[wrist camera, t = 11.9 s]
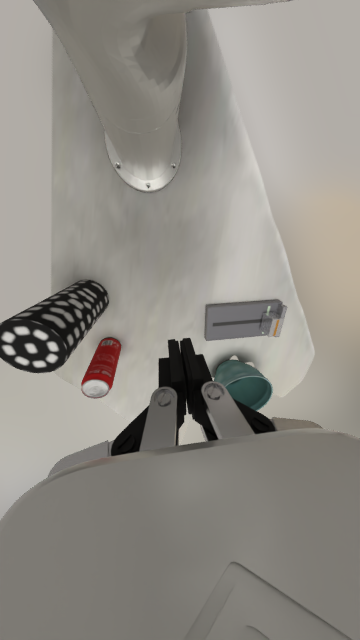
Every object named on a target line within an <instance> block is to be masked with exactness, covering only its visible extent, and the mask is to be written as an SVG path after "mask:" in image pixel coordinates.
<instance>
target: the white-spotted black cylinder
mask: <svg viewBox="0 0 360 640" xmlns="http://www.w3.org/2000/svg"><path fill="white" fill-rule="evenodd" d="M108 304H109V296H108V293H107V291H106V290H105V289H104V287H102V286H101V285H100V284H98V283H97V282H94V281H91V280H82V281H79V282H77V283H75V284H73V285H71V286H69V287H68V288H66V289H64V290H62V291H60V292H58V293H56V294H54V295H53V296H51V297H49V298H47V299H45V300H43V301H41V302H40V303H38V304H36V305H34V306H32V307H30V308H28V309H26V310H24V311H23V312H21V313H19V314H17V315H15V316H13V317H11V318H9V319H7V320H5V321H4V322H2V323H0V358H2V359H3V360H4V361H5V362H7V363H8V364H10V365H11V366H13V367H15V368H17V369H20V370H23V371H27V372H32V373H46V372H52V371H55V370H57V369H58V368H60V367H61V366H62V365H63V364H64V363H65V362H66V361H67V359H68V358H69V357H70V355H71V354H72V353H73V351H74V350H75V349H76V347H77V346H78V345H79V344H80V342H81V341H82V340H83V338H84V337H85V336H86V334H87V333H88V332H89V330H90V329H91V328H92V326H93V325H94V324H95V322H96V321H97V320H98V319H99V317H100V316H101V315H102V313H103V312H104V311H105V309H106V308H107V306H108Z"/></svg>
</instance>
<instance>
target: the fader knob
mask: <svg viewBox="0 0 360 640" xmlns="http://www.w3.org/2000/svg"><path fill="white" fill-rule="evenodd" d="M283 321H284V318H283V317H281V316H280V315H278V314H276V313H275V312H267V313H263V317H262V321H261V326H260V330H261V331H262V332H264V333H265V334H266V335H267V336H268V337H272V336H279V335H280V332H281V328H282V325H283Z"/></svg>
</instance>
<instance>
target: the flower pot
mask: <svg viewBox="0 0 360 640" xmlns="http://www.w3.org/2000/svg"><path fill="white" fill-rule="evenodd" d="M214 381H215V382H219V383H221V384H222V385H223V386H224V387H225V388H226V389H227V391H228V393H229V394H230V396H231V397H232V398H233V399H235V400H237V401H239V402H241V403H242V404H244V405H246V406H248V407H250V408H252V409H253V410H255V411H258V410H259V409H261V408H262V407H264V405H266V404H267V402H268V401H269V400H270V398H271V396H272V393H273V387H272V384H271V383H270V382H269V380H268V379H266V378H265V377H264V376H263V375H262V374H261V373H260V372H259V371H258V370H257V369H255V368H254V367H252V366H250V365H248V364H245V363H242V362H240V361H238V360H228V361H225V362H223V363H222V364H220V365H219V366H218V368H217V370H216V375H215V378H214Z"/></svg>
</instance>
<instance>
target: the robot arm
mask: <svg viewBox="0 0 360 640" xmlns="http://www.w3.org/2000/svg"><path fill="white" fill-rule="evenodd" d="M33 1H34V2H35V4H36V5H37V6H38V8H39V9H40V10H41V12H42V13H43V15H44V16H45V17H46V19H47V20H48V22H49V23H50V25H51V26H52V28H53V30H54V31H55V33H56V34H57V36H58V38H59V39H60V41H61V43H62V45H63V47H64V48H65V50H66V52H67V54H68V56H69V58H70V60H71V62H72V64H73V65H74V67H75V69H76V71H77V73H78V75H79V77H80V79H81V81H82V83H83V85H84V87H85V90H86V92H87V94H88V96H89V98H90V100H91V102H92V104H93V106H94V108H95V110H96V112H97V114H98V116H99V118H100V120H101V122H102V124H103V126H104V137H105V145H106V149H107V153H108V156H109V158H110V161H111V163H112V165H113V167H114V169H115V170H116V172H117V173H118V175H119V176H120V177H121V178H122V179H123V181H124V182H125V183H127V184H128V185H129V186H130V187H132V188H134V189H136V190H138V191H142V192H150V193H151V192H156V191H159V190H161V189H163V188H164V187H166V186H167V185H168V184H169V183H170V182H171V181H172V179H173V178H174V176H175V174H176V172H177V170H178V167H179V163H180V159H181V152H182V139H181V133H180V128H179V125H178V122H177V120H178V114H179V107H180V101H181V95H182V88H183V82H184V74H185V67H186V57H187V25H186V13H188V12H191V11H192V10H196V9H210V8H224V7H238V6H251V5H265V4H268V3H278V2H287V1H291V0H33ZM118 166H120V169H118ZM172 166H174V167H175V169H172ZM147 186H150V188H149V189H148V188H147ZM168 348H169V358H160V359H159V388H158V389H157V390H155V391H154V392H153V394H152V396H151V400H150V405H149V406H148V407H147V408H146V409H145V410H144V411H143V412H142V413H141V414H140V415H139V416H138V417H137V418H135V419H134V420H133V421H132V422H131V423H130V424H129V425H128V426H127V427H126V428H125V429H124V430H123V431H122V432H121V433H120V434H119V435H118V436H117V438H116V439H115V440H113V441H111V442H108V441H105V442H102V443H100V444H97V445H94V446H92V447H89V448H87V449H84V450H81V451H79V452H76V453H74V454H71V455H68V456H66V457H64V458H62V459H61V460H60V461H59V462H57V463H56V464H55V466H54V467H53V468H52V470H51V471H50V473H49V475H48V478H46V479H44V480H43V481H41V482H39V483H38V484H37V485H35V486H34V487H32V488H31V489H30V490H28V491H27V492H26V493H24V494H23V495H22V496H21V497H20V498H19V499H18V500H17V501H16V502H15V503H14V504H13V505H12V506H11V508H10V509H9V510H8V511H7V512H6V514H5V515H4V516H3V518H2V519H1V520H0V640H360V438H358V437H355V436H352V435H349V434H346V433H342V432H338V431H334V430H328V429H323V428H322V427H321V426H319V425H318V424H316V423H314V422H311V421H306V420H295V419H286V418H276V417H273V418H272V419H268V418H267V417H266V416H264V415H263V414H261V413H259V412H257V411H255V410H253V409H252V408H250V407H248V406H246V405H244V404H242V403H241V402H239V401H237V400H235V399H233V398H232V397H231V396H230V394H229V393H228V391H227V389H226V388H225V387H224V386H223V385H222V384H221V383H219V382H215V381H213V380H212V377H211V375H210V372H209V369H208V367H207V364H206V361H205V359H204V356H203V354H199V355H195V351H194V348H193V345H192V342H191V339H190V338H183V340H182V341H180V348H179V343H178V341H175V339H172V340H168ZM180 350H181V354H180ZM186 401H187V407H188V413H189V414H192V417H193V419H195V421H196V422H198V423H199V424H200V427H201V430H202V433H203V436H204V438H205V441H206V442H201V443H193V444H187V445H180V446H179V428H180V427H181V426H182V424H183V423H184V415H186Z"/></svg>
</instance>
